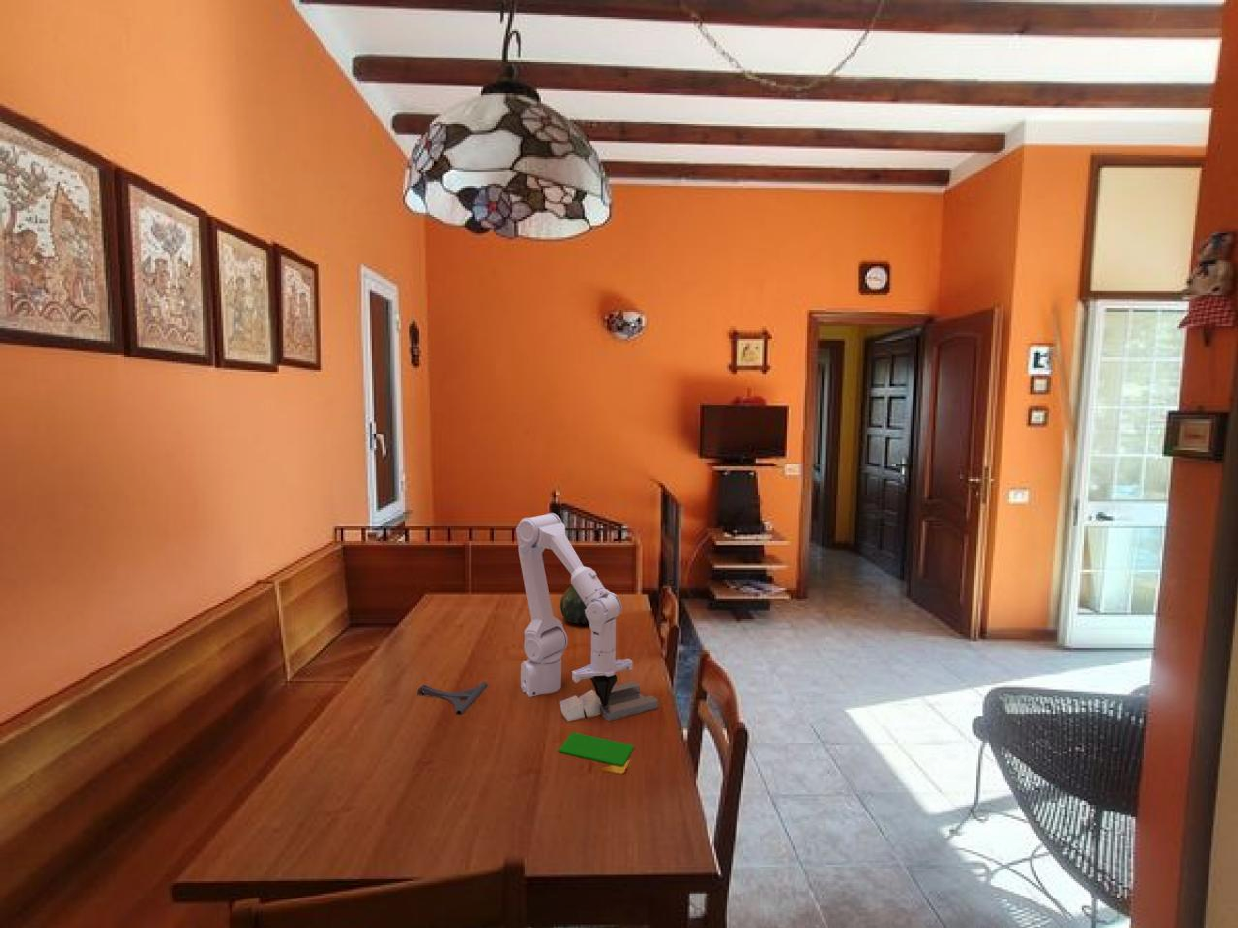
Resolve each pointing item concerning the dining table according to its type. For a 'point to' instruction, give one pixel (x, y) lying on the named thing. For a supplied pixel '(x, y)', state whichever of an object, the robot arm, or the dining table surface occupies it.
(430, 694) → the bracket
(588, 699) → the block
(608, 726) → the dining table surface
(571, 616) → the squash
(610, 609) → the robot arm
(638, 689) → the slot plate
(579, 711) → the block
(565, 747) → the dish sponge
